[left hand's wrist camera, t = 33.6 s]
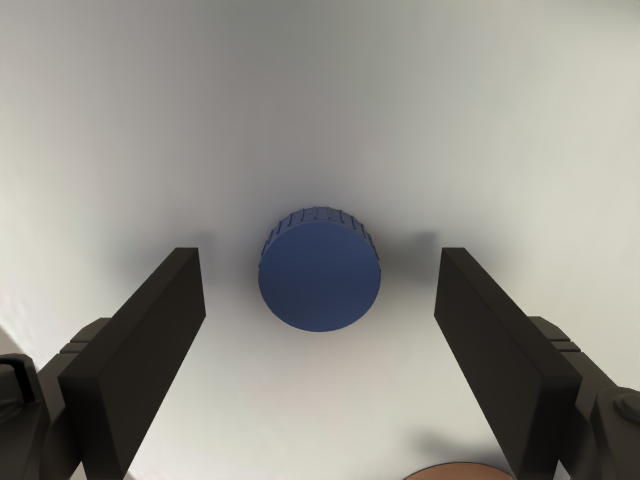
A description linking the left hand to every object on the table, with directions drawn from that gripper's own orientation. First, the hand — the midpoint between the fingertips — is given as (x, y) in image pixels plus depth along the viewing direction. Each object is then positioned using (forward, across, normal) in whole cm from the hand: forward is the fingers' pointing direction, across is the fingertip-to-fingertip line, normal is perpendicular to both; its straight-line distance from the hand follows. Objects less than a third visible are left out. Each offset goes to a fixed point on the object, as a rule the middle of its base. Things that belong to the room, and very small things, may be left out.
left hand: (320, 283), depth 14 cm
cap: (+1, 0, 0) cm, 1 cm away
